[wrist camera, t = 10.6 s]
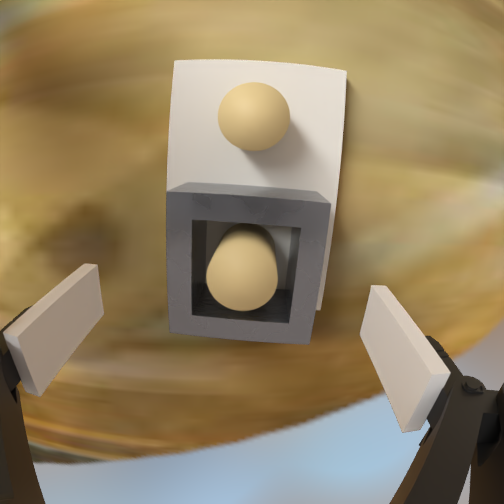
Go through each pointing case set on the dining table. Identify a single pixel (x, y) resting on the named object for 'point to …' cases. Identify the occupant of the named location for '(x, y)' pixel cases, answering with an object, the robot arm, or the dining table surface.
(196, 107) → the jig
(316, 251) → the collar
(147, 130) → the dining table surface
